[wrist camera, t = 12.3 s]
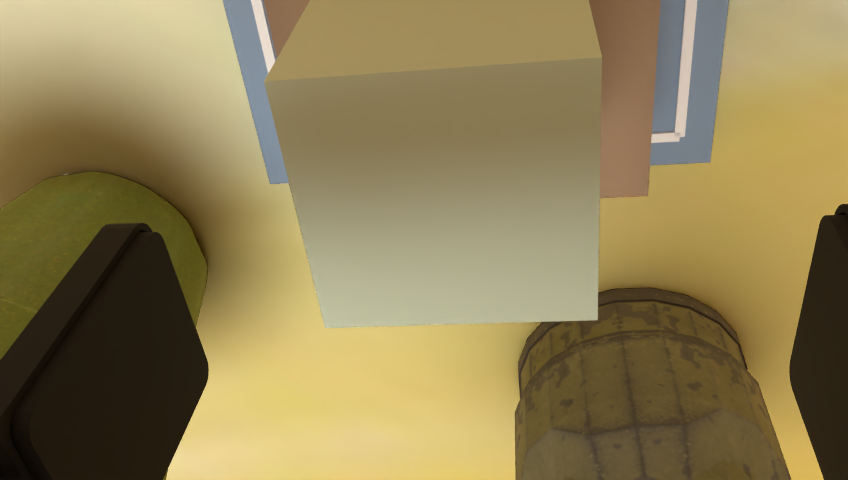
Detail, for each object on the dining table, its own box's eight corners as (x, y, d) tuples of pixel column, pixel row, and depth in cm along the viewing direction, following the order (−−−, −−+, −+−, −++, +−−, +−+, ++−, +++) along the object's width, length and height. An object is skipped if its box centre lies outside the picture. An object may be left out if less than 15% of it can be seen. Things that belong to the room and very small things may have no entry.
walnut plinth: (644, -218, 19) (673, -192, 16) (628, 123, 24) (647, 195, 21) (274, -178, 20) (230, -145, 17) (336, 140, 25) (311, 210, 22)
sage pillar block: (570, -76, 17) (601, 56, 11) (571, 132, 20) (598, 320, 14) (341, -55, 18) (264, 81, 12) (374, 143, 21) (325, 328, 15)
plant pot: (276, 137, 27) (156, 386, 17) (262, 382, 34) (172, 650, 25) (-81, 73, 26) (-392, 293, 17) (-19, 334, 33) (-215, 588, 24)
